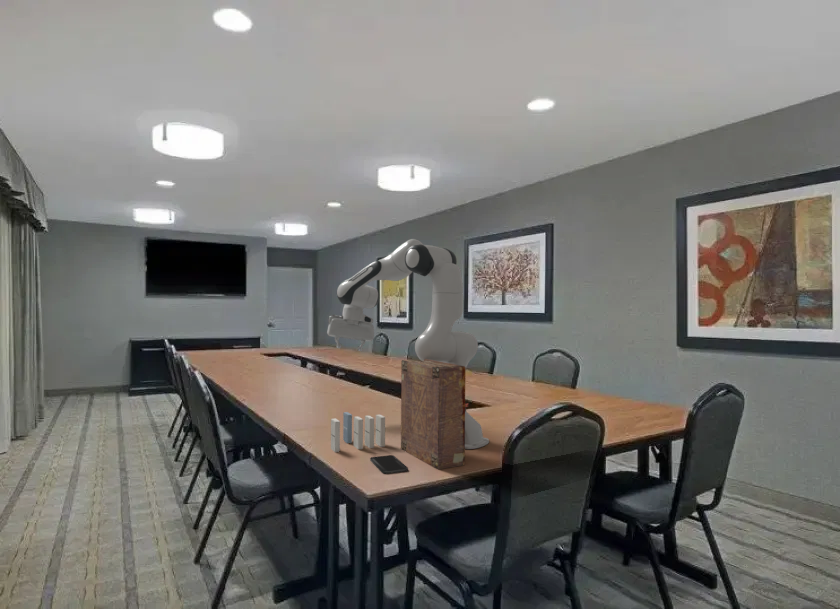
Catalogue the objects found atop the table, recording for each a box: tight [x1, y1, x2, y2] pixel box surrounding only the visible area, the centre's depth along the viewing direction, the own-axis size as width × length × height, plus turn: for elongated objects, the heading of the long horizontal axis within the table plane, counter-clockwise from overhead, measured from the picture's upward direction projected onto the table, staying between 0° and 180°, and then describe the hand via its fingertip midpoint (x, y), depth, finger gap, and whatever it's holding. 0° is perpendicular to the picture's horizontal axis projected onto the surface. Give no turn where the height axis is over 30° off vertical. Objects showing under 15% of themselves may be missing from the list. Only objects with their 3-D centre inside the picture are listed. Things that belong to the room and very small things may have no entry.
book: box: [400, 359, 467, 470], centre depth 162 cm, size 25×9×30 cm, turn 28°
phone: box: [369, 454, 409, 475], centre depth 153 cm, size 8×1×15 cm
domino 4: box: [364, 415, 375, 449], centre depth 174 cm, size 2×5×10 cm, turn 25°
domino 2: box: [342, 411, 353, 445], centre depth 180 cm, size 2×5×10 cm, turn 25°
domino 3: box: [353, 416, 364, 450], centre depth 173 cm, size 2×5×10 cm, turn 25°
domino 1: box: [330, 417, 341, 453], centre depth 169 cm, size 2×5×10 cm, turn 25°
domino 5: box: [375, 413, 386, 448], centre depth 176 cm, size 2×5×10 cm, turn 26°
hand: (349, 349), depth 217 cm, fingers open, 8 cm apart
